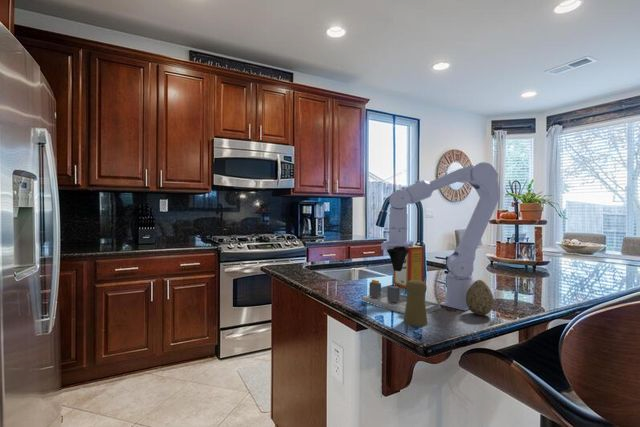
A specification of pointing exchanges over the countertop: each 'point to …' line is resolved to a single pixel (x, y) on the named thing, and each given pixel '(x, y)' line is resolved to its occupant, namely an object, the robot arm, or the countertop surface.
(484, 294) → the decorative egg
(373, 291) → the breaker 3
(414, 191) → the robot arm
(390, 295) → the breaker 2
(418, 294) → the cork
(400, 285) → the baking soda box
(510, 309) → the countertop surface
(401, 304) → the panel
